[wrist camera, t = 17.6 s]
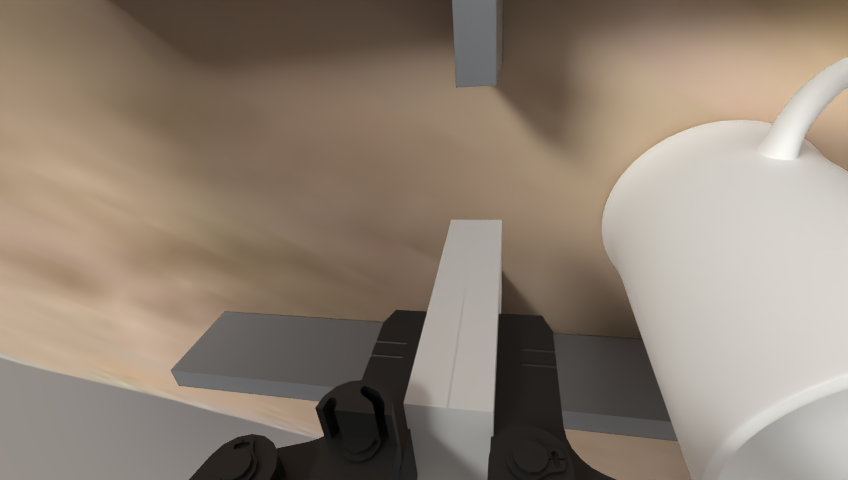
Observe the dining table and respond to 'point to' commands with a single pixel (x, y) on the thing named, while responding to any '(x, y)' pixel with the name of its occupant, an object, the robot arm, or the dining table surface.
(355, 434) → the robot arm
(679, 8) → the dining table surface
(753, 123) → the mug
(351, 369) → the grey rectangular frame
